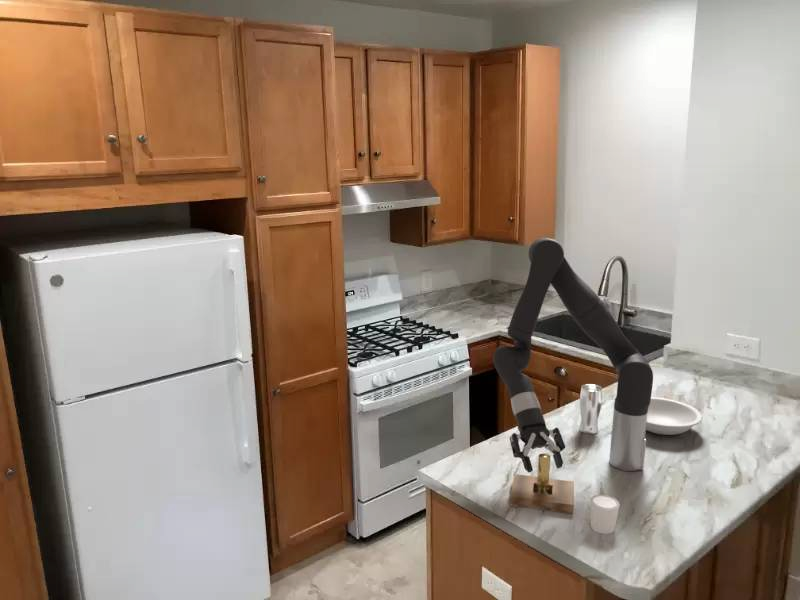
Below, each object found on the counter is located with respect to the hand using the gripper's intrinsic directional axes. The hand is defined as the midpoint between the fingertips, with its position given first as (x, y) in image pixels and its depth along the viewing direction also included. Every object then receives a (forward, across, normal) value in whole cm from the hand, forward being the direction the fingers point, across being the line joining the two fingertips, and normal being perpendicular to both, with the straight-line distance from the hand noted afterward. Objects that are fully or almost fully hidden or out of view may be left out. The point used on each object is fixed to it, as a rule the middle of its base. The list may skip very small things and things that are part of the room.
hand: (545, 469), depth 167 cm
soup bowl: (-14, +58, +26) cm, 65 cm away
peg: (+6, 0, +6) cm, 9 cm away
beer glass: (-18, +34, +30) cm, 49 cm away
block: (+6, 0, +6) cm, 8 cm away
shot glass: (+17, +8, -5) cm, 20 cm away
